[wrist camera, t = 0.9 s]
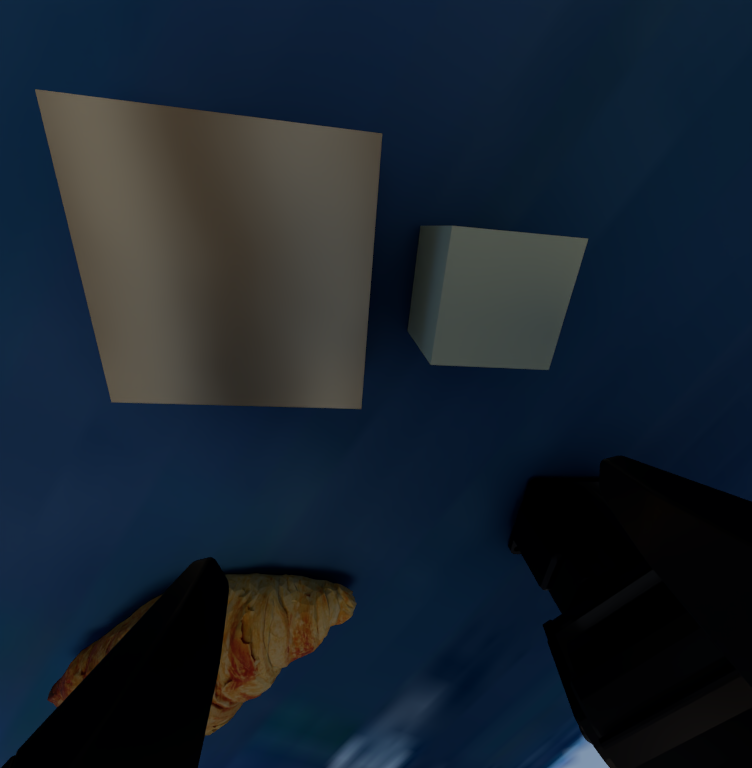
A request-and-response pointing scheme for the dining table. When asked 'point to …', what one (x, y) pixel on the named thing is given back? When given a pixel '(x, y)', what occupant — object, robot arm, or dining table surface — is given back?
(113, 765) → the robot arm
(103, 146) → the birch plinth
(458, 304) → the sage cube
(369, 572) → the dining table surface
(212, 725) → the croissant
